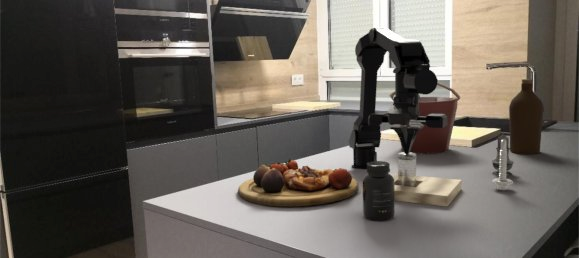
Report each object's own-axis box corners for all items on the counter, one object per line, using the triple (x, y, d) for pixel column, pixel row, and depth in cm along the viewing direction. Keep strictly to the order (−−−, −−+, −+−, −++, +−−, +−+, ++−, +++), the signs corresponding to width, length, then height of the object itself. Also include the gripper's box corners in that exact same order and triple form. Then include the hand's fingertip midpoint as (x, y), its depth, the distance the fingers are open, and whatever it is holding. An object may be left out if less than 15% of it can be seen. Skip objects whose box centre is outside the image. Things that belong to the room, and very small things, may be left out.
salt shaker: (515, 176, 137) (517, 134, 135) (493, 176, 138) (494, 134, 136) (510, 171, 142) (511, 130, 141) (489, 171, 144) (490, 131, 142)
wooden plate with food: (383, 189, 130) (382, 158, 129) (297, 217, 108) (295, 180, 107) (299, 174, 153) (298, 148, 152) (214, 194, 132) (212, 164, 131)
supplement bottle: (359, 212, 110) (359, 160, 108) (389, 210, 111) (389, 159, 109) (367, 222, 103) (366, 167, 102) (398, 220, 104) (398, 165, 102)
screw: (517, 190, 123) (502, 192, 122) (501, 185, 128) (487, 188, 126) (518, 139, 122) (504, 141, 120) (503, 136, 126) (488, 138, 124)
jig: (372, 197, 121) (372, 188, 121) (393, 182, 135) (393, 173, 135) (447, 206, 112) (447, 196, 112) (461, 189, 126) (461, 179, 126)
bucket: (380, 150, 180) (379, 83, 177) (408, 141, 197) (408, 79, 193) (444, 157, 165) (445, 83, 161) (469, 147, 181) (470, 79, 178)
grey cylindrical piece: (395, 193, 124) (395, 155, 123) (401, 189, 128) (400, 151, 127) (413, 195, 122) (413, 156, 120) (418, 191, 126) (418, 152, 124)
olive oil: (521, 155, 163) (524, 80, 160) (501, 150, 173) (503, 79, 170) (549, 153, 165) (552, 79, 162) (527, 148, 176) (529, 78, 172)
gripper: (359, 94, 119) (360, 157, 121) (437, 94, 110) (436, 162, 112) (375, 90, 129) (376, 149, 131) (448, 91, 119) (447, 153, 121)
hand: (407, 153), depth 124 cm, fingers closed
